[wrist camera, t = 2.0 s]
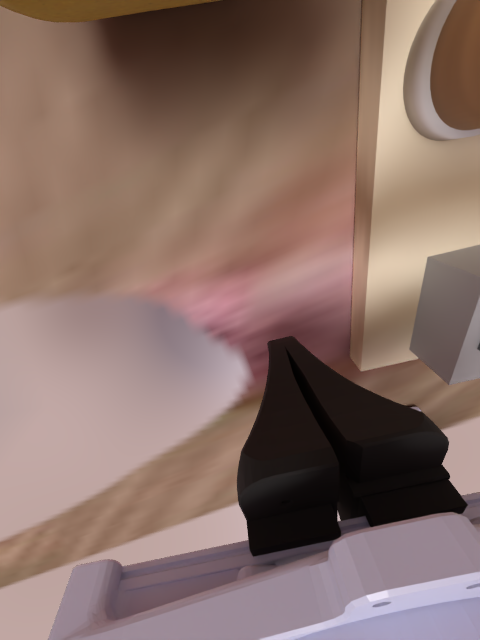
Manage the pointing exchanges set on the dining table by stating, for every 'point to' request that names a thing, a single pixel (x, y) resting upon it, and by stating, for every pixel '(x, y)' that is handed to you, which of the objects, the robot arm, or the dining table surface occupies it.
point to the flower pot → (89, 8)
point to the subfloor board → (401, 192)
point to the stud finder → (450, 316)
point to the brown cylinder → (445, 72)
